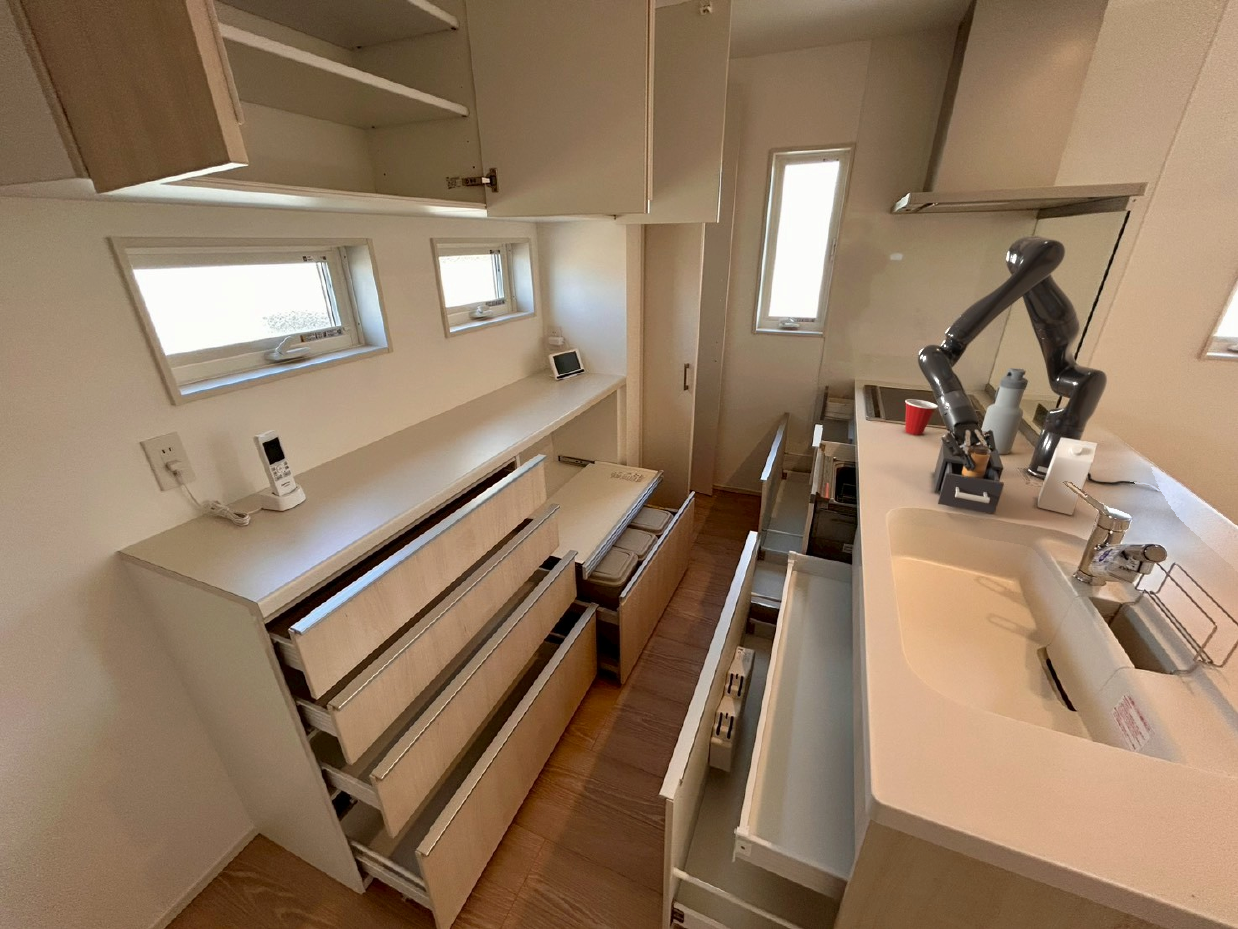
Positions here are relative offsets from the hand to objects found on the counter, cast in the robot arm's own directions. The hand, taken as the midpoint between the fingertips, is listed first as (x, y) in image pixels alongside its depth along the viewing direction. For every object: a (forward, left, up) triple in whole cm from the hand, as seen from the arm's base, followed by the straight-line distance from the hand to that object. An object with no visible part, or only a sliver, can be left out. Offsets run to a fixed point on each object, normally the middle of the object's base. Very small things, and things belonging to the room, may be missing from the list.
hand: (980, 468), depth 129 cm
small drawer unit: (+1, -14, -11) cm, 18 cm away
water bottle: (-10, -55, -12) cm, 57 cm away
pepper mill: (+1, -1, -4) cm, 5 cm away
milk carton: (-20, -12, -12) cm, 26 cm away
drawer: (+1, -1, -11) cm, 11 cm away
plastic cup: (+14, -62, -12) cm, 64 cm away
